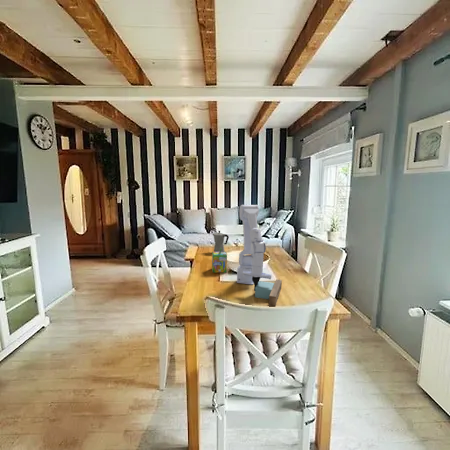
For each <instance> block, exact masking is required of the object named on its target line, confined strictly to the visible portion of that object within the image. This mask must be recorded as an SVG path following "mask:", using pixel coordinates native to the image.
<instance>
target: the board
mask: <svg viewBox="0 0 450 450" xmlns="http://www.w3.org/2000/svg"><path fill="white" fill-rule="evenodd" d="M273 283H274V286H273V288H272V291H271V293H270V295H269V299H268V306H274V307H276V305H277V302H278V299H279V297H280V293H281V290H282V283H283V280H282V279H275V281H274V282H273Z"/></svg>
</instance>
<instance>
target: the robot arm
mask: <svg viewBox="0 0 450 450" xmlns="http://www.w3.org/2000/svg"><path fill="white" fill-rule="evenodd" d="M259 212H260V209H259V205H258V204H241V205H240V206H239V220H240V221H242V227H243V231H242V232H243V250H242V251H240V252H239V255H238V267H237V270H236V272H237V273H236V283H238V284H246V285H254V287H253V292H255V287H256V286H257V284H258V282H259V281H261V278H262V279H266V280H267V279H268V280H272V274H270V273H265V272H264V271H263V270H264V256H265V255H264V254H265V253H266V248H267V247H266V242H265V241H264V239H263V237H262V233H261V232H262V231H261V229H259V227H258V221H257V218H258V215H259Z"/></svg>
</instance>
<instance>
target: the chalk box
mask: <svg viewBox="0 0 450 450" xmlns="http://www.w3.org/2000/svg"><path fill="white" fill-rule="evenodd" d="M221 250H222V249H220V252H214V251H212V254H211V255H212V256H211V257H212V258H211V271H212V273H214V274H215V273H221V274H223V273H225V274H226V273H227V272H228V271H227V270H228V269H227V268H228V267H227V263H228V253H227V251H225V252H221Z"/></svg>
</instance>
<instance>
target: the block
mask: <svg viewBox="0 0 450 450" xmlns="http://www.w3.org/2000/svg"><path fill="white" fill-rule="evenodd" d="M274 283H275V282H270V281H262V280H259V282H258V284H257V286H256V287H255V291H254V298H258V299H265V300H269V295H270V293H271V291H272V288H273V286H274Z"/></svg>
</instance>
